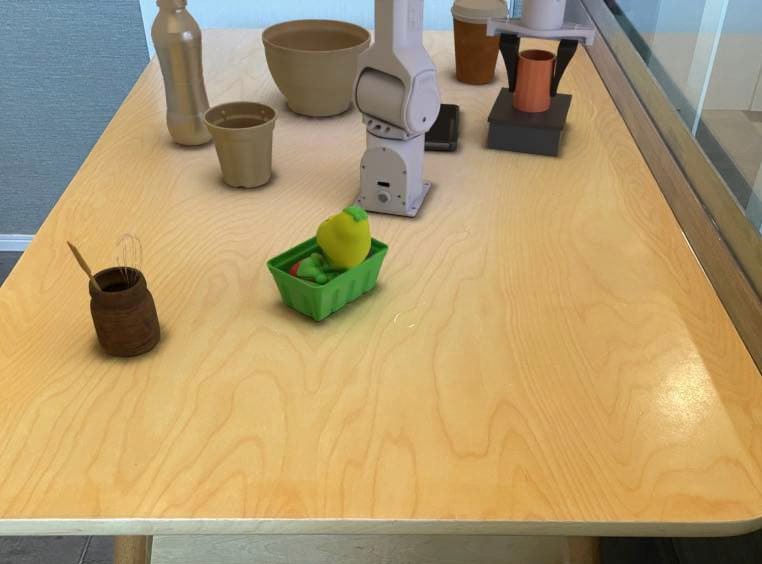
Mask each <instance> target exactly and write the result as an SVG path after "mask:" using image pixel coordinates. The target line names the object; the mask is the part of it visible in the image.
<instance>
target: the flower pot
mask: <svg viewBox="0 0 762 564" xmlns="http://www.w3.org/2000/svg"><path fill="white" fill-rule="evenodd" d="M278 116H279V112H278V110H277V108H275V107H274V106H272V105H270V104H267V103H264V102H260V101H253V100H236V101H228V102H223V103H219V104H217V105H214V106H210V108H209V109H208V110H206V111H205V112H204V113H203V116H202V119H203V122H204V123H205V124H206V125H207V128H208V131H209V133H210V134H211V135H212V139H211V140H212V142H213V145H214V149H215V153H216V156H217V160H218V163H219V166H220V170H221V174H222V177H223V181H224V183H226V184H227V185H229V186H231V187H234V188H238V187H243V188H247V189H253V188H258V187H260V186H263V185H265V184H266V183H268V182H269V181H270V178H271V177H272V161H273V141H274V140H273V137H274V130H275V127H276V121H277V119H278Z"/></svg>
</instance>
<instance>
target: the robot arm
mask: <svg viewBox="0 0 762 564" xmlns="http://www.w3.org/2000/svg"><path fill="white" fill-rule="evenodd" d="M373 2H374V3H373V5H374V6H373V7H374V13H373V15H374V16H373V17H374V18H373V19H374V20H373V21H374V23H373V24H374V26H373V27H374V30H373V31H374V32H373V33H374V37H373V39H374V42H373V43H372V44H370V46H369V47H368V48H367V49H366V50H364V51H363V52H362V53H361V54H360V55H359V56H358V57H357V73H356V77H355V80H354V83H353V88H352V98H351V99H352V103H353V105H354V108H355V110H357V112H359V113H360V114H361V123H362V124H364V125H365V139H366V140H365V146H366V147H365V150H364V153H363V154H362V156H361V159H360V163H359V164H360V165H359V170H360V171H359V176H360V177H359V178H360V179H359V180H360V181H359V185H360V191H359V192H360V194H359V195H358V196H357V198H356V199H355V201H354V203H353V205H352V206H357V207H361V208H363V209H364V210H365V211H366V212H367V211H369V212H375V213H382V214H389V215H397V216H403V217H411V218H412V217H416V215H417V213H418V211H419V210H420V207H421V205H422V204H423V201H424V199H425V198H426V195H428V192H429V190H430V188H431V185H432V182H431V181H429V180H424V164H425V150H424V141H425V132H428V131H429V129H430V127H431V126H432V125H433V123H434V122H435V120H436V118H437V116H438V114H439V110H440V104H442V103H441V101H442V97H441V92H440V88H439V85H438V81H437V80H438V79H437V73H438V72H437V71H438V68H437V65H436V64H435V62H434V60H433V58H432V57H431V56H430V54H429V52H428V51H427V50H426V48H425V46H424V43H423V36H424V35H423V33H424V9H425V8H424V7H425V0H374V1H373ZM566 4H567V0H522V3H521V12H520V17H507V18H495V17H490V18H489V19H488V21H487V31H486V36H494V35H500V41H499V53H500V54H501V57H502V59H503V63H504V66H505V70H506V76H507V83H508V88H509V92H512V93H513V92H514V85H515V75H516V66H517V57H518V53H519V52H520V45H521V39H522V38H523V39H532V40H543V41H544V40H545V41H553V42H554V41H555V42H559V44H558V46H557V51H556V56H557V58H556V65H555V73H554V79H553V84H552V88H551V95H550V97H555V96H556V93H558V89H559V84H560V82H561V79H562V77H563V75H564V73H565V71H566V69H567V68H568V66H569V64H570V62H571V61H572V59H573V58H574V56H575V54H576V52H577V49H578V46H579V44H584V46H589V47H592V46H594V42H595V35H596V31H597V26H593V25H585V24H580V23H576V22H570V21H565V20H564V18H565V10H566Z"/></svg>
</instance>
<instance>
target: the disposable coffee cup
mask: <svg viewBox="0 0 762 564" xmlns="http://www.w3.org/2000/svg"><path fill="white" fill-rule="evenodd" d="M450 13H451V16H452V24H453V25H452V26H453V28H452V29H453V40H454V41H453V43H454V60H455V61H454V62H455V77H456V79H457V80H458V81H460V82H462V83H464V84H469V85H485V84H489V83H490V82H492V81H494V78H495V72H496V67H497V64H498V59H499V58H498V57H499V53H500V49H499V41H500V35H494V36H486V31H487V21H488V19H489V18H490V17H495V18H508V17H509V14H510V9H509V6H508V1H507V0H453V4H452V6H451V7H450Z"/></svg>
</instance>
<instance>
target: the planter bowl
mask: <svg viewBox="0 0 762 564" xmlns="http://www.w3.org/2000/svg"><path fill="white" fill-rule="evenodd" d="M261 41H262V44H263V47H264V56H265V60H266V64H267V68H268V71H269V73H270V75H271V78H272V80H273V82H274V84H275V85H276V87H277V89H278V90H279V92H280V93H281V94H282V95H283V97H284V98H285V99H286V102H287V106H288V108H289V109H290V110H291V111H293V112H294V113H296V114H299V115H303V116H308V117H331V116H336V115H339V114H341V113H344V112H346V111H347V110H348V109H349V107H350V103H351V99H352V88H353V83H354V80H355V77H356V73H357V57H358V56H359V55H360V54H361V53H362V52H363V51H364V50H366V49H367V48H368V47H369V46H371V41H372V34H371V32H370V31H369V30H368V29H367V28H365V27H363V26H361V25H359V24H356V23H352V22H348V21H344V20H337V19H327V18H326V19H323V18H305V19H303V18H302V19H293V20H287V21H281V22H278V23H275V24H272V25H270V26H268V27H266V28H265V29H264V30H262V33H261Z"/></svg>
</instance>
